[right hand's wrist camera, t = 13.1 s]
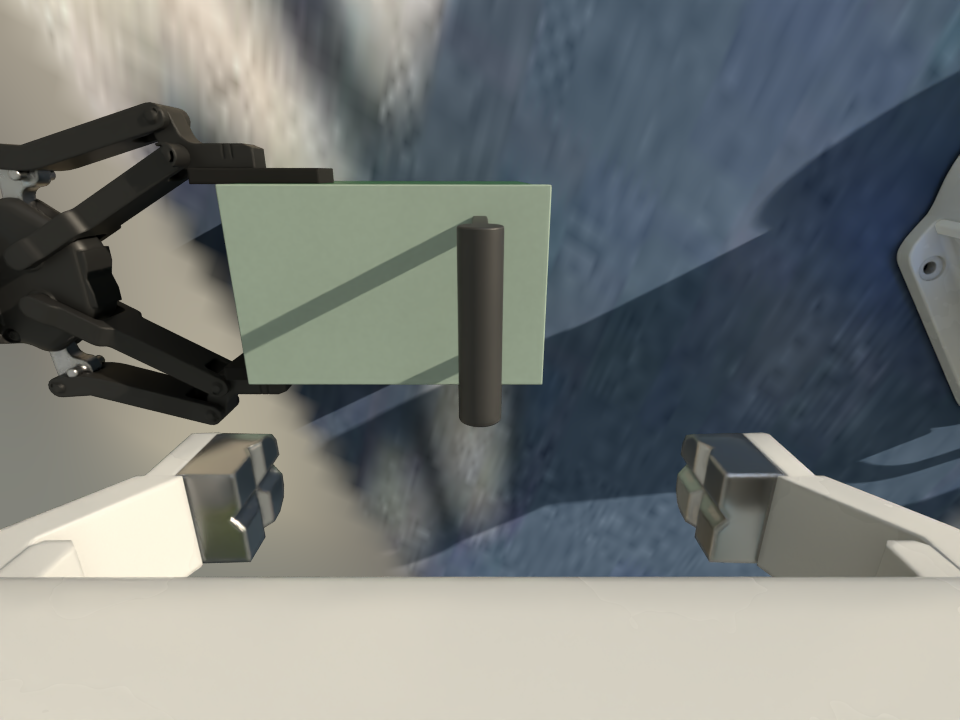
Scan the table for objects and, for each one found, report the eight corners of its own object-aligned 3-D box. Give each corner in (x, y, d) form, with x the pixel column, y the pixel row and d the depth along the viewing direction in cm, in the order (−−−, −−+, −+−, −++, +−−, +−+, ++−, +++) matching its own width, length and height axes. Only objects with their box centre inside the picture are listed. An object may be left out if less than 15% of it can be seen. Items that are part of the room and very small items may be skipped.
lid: (548, 184, 24) (581, 189, 17) (539, 377, 28) (563, 455, 20) (225, 184, 24) (108, 189, 17) (257, 376, 28) (171, 455, 20)
